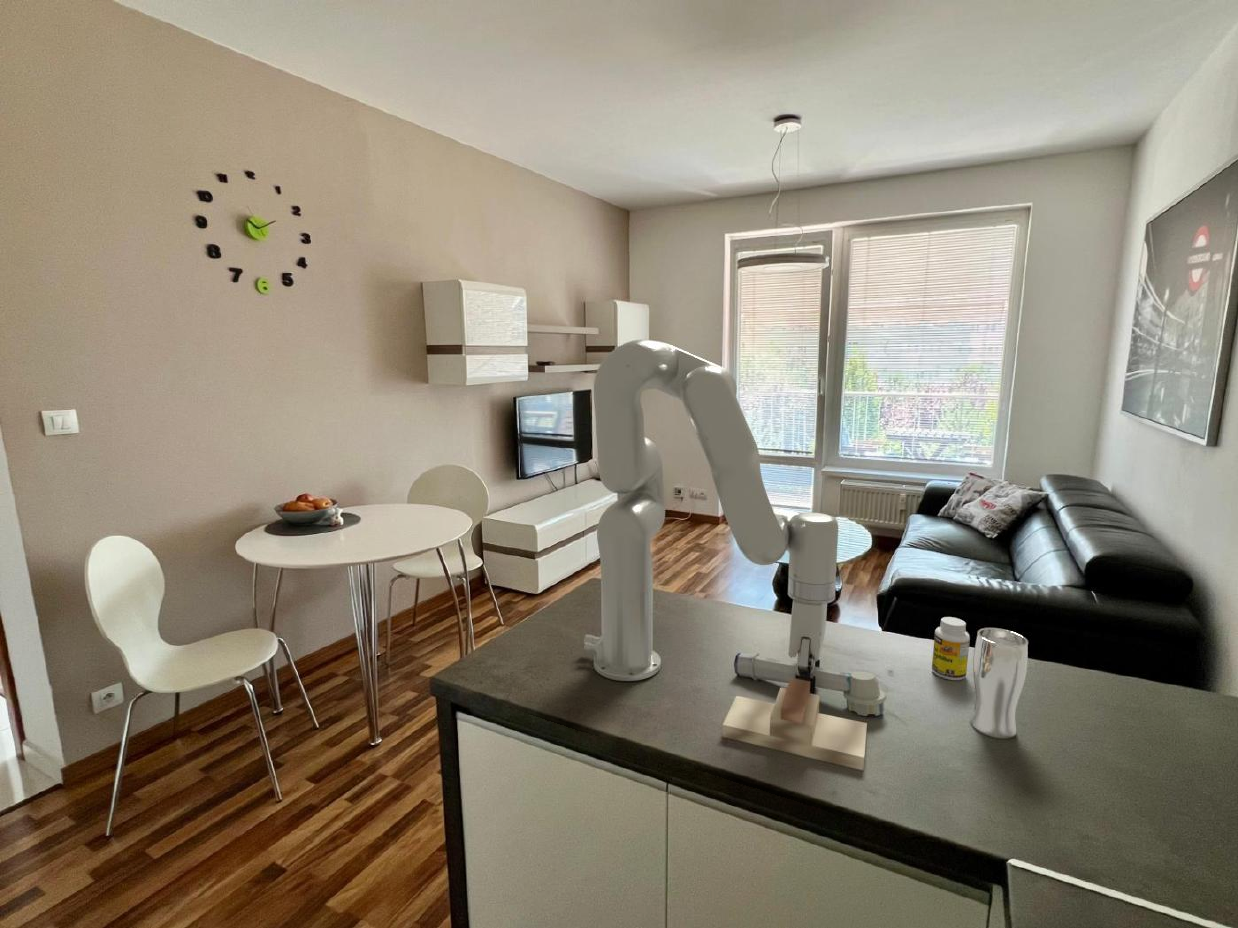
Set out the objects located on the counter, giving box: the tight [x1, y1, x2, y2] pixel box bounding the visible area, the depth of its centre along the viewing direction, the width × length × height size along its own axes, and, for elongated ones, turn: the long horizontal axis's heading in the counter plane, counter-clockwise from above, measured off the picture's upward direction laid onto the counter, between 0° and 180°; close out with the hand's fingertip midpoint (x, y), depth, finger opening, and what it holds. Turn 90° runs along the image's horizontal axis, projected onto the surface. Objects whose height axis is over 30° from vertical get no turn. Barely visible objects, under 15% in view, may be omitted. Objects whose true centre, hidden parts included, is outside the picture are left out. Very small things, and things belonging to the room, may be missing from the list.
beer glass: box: [970, 627, 1029, 740], centre depth 95 cm, size 7×7×15 cm
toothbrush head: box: [733, 652, 887, 717], centre depth 107 cm, size 5×7×25 cm
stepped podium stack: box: [722, 678, 868, 771], centre depth 94 cm, size 20×9×7 cm, turn 66°
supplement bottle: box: [931, 616, 971, 681], centre depth 112 cm, size 6×6×10 cm
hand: (807, 687), depth 107 cm, fingers closed on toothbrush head, 5 cm apart
